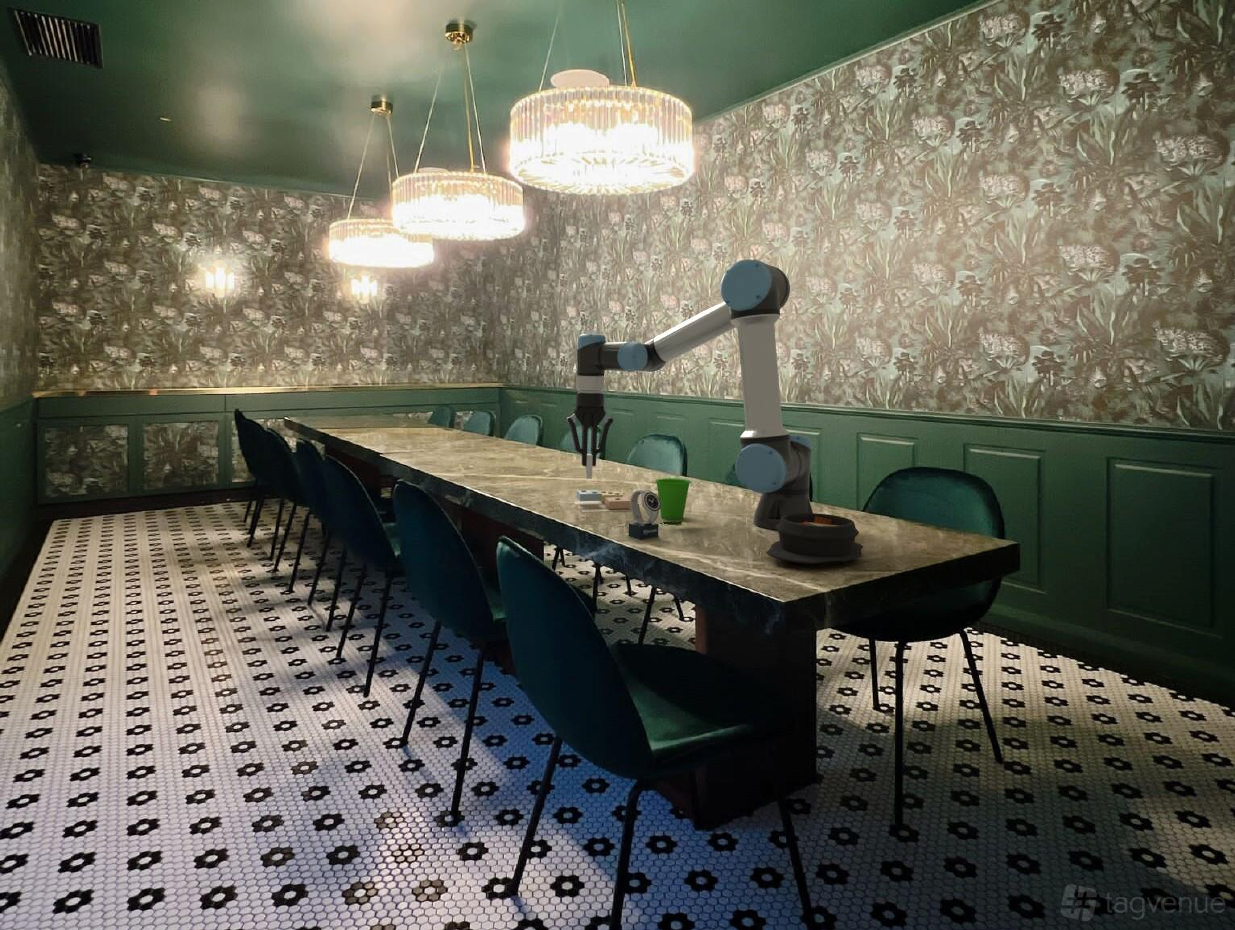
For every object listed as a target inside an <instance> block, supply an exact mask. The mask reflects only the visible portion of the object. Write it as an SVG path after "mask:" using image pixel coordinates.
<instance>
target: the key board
mask: <svg viewBox="0 0 1235 930" xmlns="http://www.w3.org/2000/svg"><path fill="white" fill-rule="evenodd" d="M571 501H572V502H573V503H574V505H575V506H577V508H578V509H579V510H580V511H581V512H583V513H587V512H589V513H591V512H593V513H594V512H631V508H623V509H609V508H608V507H606V506H605V502H601V501H579V500H578V499H577V498H572V499H571Z"/></svg>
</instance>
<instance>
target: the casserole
mask: <svg viewBox="0 0 1235 930" xmlns="http://www.w3.org/2000/svg"><path fill="white" fill-rule="evenodd" d="M776 529H777V532H778V537H779V540H778V541H775V542H773V543H772V544H771V545H770V548H769V549H767V550H766V552H765V554H766V555H768V556H769V557H771V558H775V559H778V560H782V561H785V562H789V563H791V562H792V563H798V564H805V565H836V564H839V563H843V562H845V561H852V560H856V559H858V558H860V557H861V556H862V555H863V554H862V553H863V551H862V550H863V549H864V546H863V545H862V543H858V542H855V540H856V537H857V536H858V535H860V531H859V530H858V529H857V527H856V524H855V521H854V520H853V519H851V518H850V519H849V518H847V517H843V516H840V515H834V514H826V513H818V512H817V513H816V512H815V513H814V512H813V513H796V514H789V515H785V516H782V517H781V519H780V522H779V524H778V525H776ZM776 529H775V530H776Z"/></svg>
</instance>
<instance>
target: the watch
mask: <svg viewBox="0 0 1235 930" xmlns="http://www.w3.org/2000/svg"><path fill="white" fill-rule="evenodd" d="M639 497H641V500H640V501H641V506H642V508H643V509H644V510H645V512H646V514H647V516H648V518H647V520H645V519H643V515H642V511H641V509H640V504H639ZM630 508H631V511H630V512H631V515H632V517H633V520H634V521H636V522H629V523H628V537H629V536H630V537H629V538H632V537H633V539H636V540H640V541H642V540H647V539H652V538H653V537H654V538H658V537H659V527H660V526H659V523H657V522H655V521H656V520H657V518H658V516H659V514H660V508H661V500H660V499H659V496H658V494H657V493H655V492H654V491H652V490H649V489H639V490H636V491H634V492H632V495H631V497H630Z"/></svg>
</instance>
